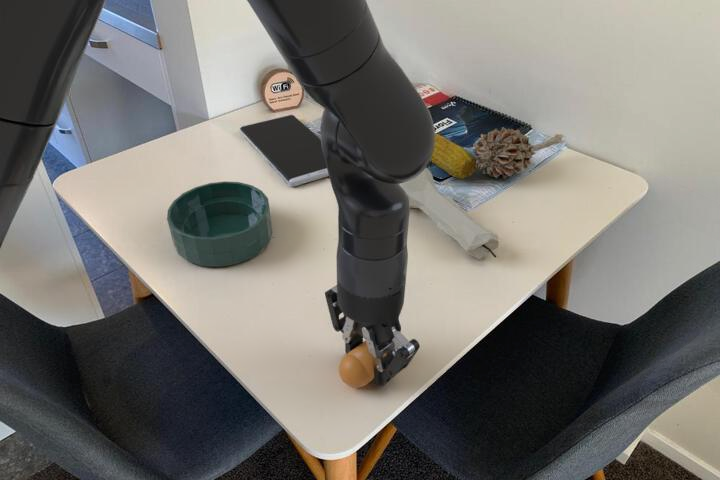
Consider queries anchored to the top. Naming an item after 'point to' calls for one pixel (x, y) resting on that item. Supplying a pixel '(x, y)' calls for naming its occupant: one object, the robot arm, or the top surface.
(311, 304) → the top surface
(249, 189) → the green round bowl
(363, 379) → the bread roll
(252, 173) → the top surface
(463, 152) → the food
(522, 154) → the pine cone
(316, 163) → the smartphone
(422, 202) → the faceted club
